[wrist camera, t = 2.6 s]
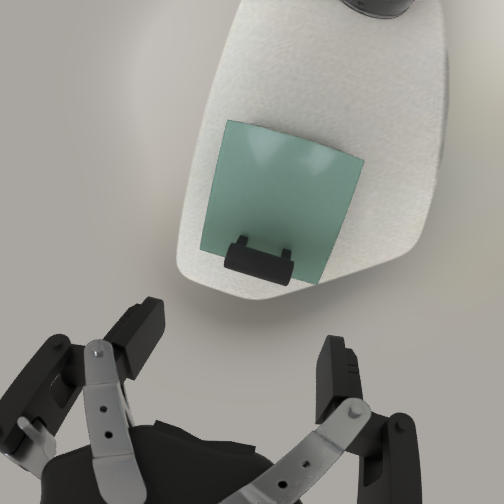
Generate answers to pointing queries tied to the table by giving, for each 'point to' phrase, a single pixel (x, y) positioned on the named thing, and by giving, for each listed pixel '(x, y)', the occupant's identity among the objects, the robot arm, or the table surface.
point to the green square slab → (277, 203)
